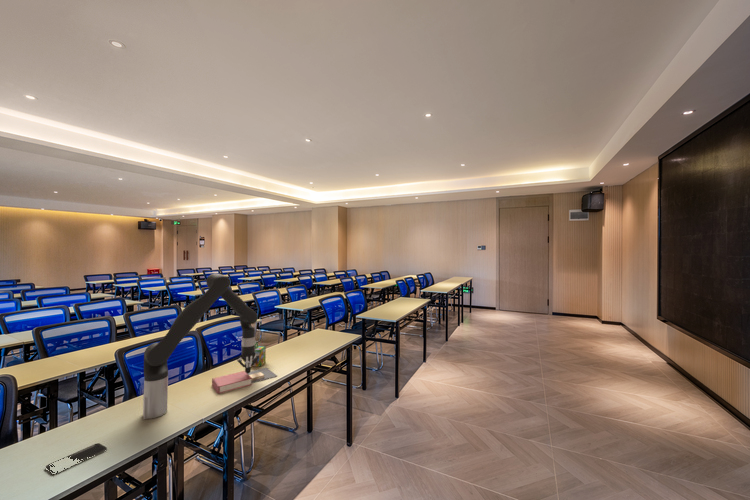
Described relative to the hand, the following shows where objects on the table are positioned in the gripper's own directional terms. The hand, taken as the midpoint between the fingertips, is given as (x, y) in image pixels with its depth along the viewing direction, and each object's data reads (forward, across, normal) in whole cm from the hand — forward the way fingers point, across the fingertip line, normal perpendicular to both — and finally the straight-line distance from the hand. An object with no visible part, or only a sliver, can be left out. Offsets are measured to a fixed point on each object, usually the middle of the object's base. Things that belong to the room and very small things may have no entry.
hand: (247, 373), depth 179 cm
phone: (+5, -71, -30) cm, 77 cm away
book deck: (+5, -9, 0) cm, 10 cm away
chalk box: (+5, +14, +24) cm, 28 cm away
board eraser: (+4, +4, 0) cm, 6 cm away
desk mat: (+5, +8, +4) cm, 11 cm away
